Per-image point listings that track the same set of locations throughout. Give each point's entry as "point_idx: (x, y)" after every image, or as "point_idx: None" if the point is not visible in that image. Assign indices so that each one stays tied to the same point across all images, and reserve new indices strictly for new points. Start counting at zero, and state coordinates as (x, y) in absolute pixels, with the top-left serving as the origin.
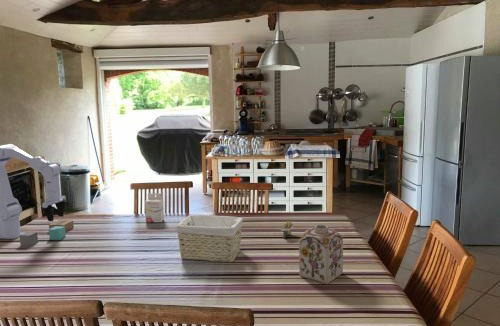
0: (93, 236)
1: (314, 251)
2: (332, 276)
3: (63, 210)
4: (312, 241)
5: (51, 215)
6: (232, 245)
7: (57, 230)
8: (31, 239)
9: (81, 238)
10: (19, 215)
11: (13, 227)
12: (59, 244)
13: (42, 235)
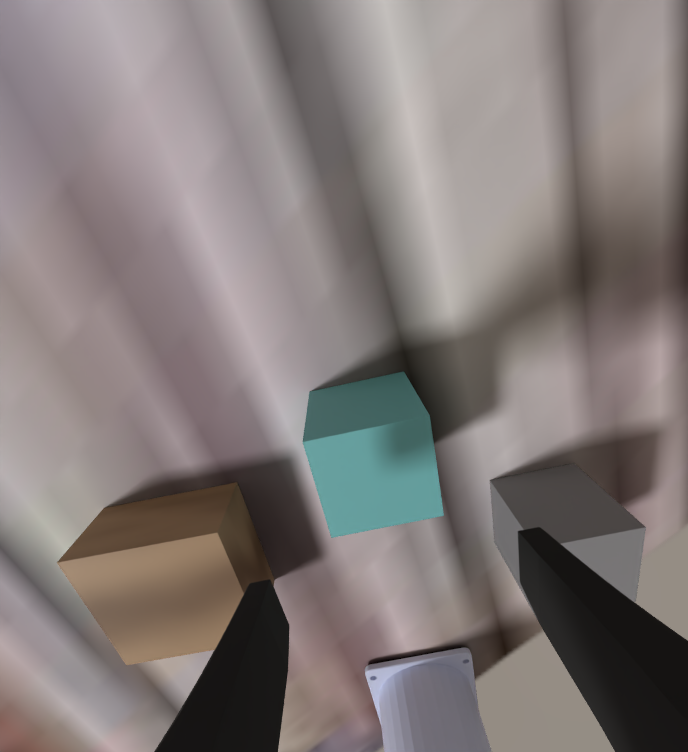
0: (187, 87)
1: None
2: None
3: (221, 697)
4: None
5: (653, 628)
6: None
7: (429, 422)
8: (589, 499)
9: (298, 187)
10: None
11: (470, 748)
12: (507, 272)
13: (353, 563)
